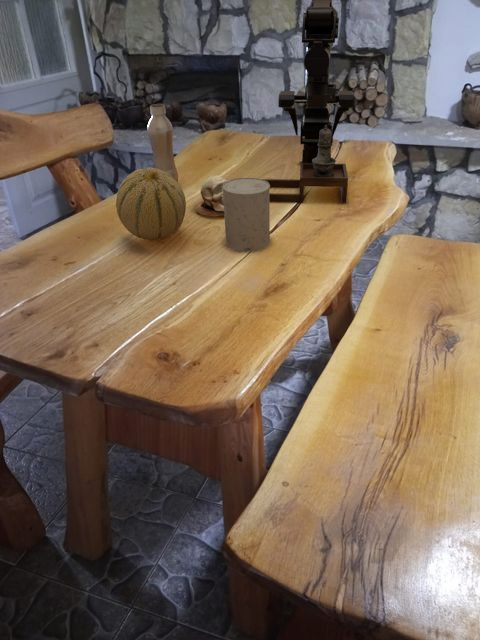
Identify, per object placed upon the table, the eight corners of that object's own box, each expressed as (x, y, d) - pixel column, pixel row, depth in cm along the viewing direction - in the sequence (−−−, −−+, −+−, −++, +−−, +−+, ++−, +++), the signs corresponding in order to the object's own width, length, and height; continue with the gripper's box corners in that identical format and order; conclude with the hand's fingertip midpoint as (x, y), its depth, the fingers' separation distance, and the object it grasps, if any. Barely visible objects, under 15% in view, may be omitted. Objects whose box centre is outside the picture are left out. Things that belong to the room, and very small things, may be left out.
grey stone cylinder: (254, 255, 112) (253, 197, 105) (216, 245, 116) (212, 188, 109) (278, 238, 118) (278, 182, 111) (241, 229, 123) (239, 174, 115)
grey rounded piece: (309, 171, 138) (311, 121, 131) (332, 170, 139) (335, 120, 132) (313, 179, 134) (315, 128, 127) (337, 178, 134) (340, 127, 127)
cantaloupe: (149, 218, 128) (140, 153, 119) (202, 230, 122) (196, 162, 113) (106, 243, 117) (93, 173, 109) (162, 257, 112) (152, 185, 103)
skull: (258, 204, 131) (235, 179, 123) (233, 239, 132) (208, 217, 124) (229, 189, 139) (204, 164, 131) (205, 222, 139) (179, 200, 131)
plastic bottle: (181, 182, 148) (173, 102, 136) (175, 191, 142) (167, 109, 130) (158, 181, 148) (148, 102, 136) (151, 190, 143) (140, 108, 131)
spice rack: (343, 187, 143) (345, 163, 140) (346, 203, 134) (348, 178, 131) (256, 186, 145) (255, 162, 141) (252, 201, 136) (252, 177, 132)
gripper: (277, 74, 126) (277, 144, 135) (359, 74, 125) (353, 144, 134) (279, 65, 135) (278, 131, 144) (355, 65, 134) (350, 132, 143)
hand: (314, 135), depth 141 cm, fingers open, 9 cm apart
